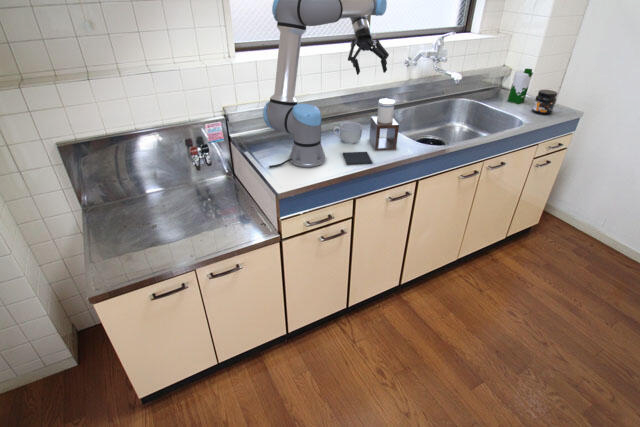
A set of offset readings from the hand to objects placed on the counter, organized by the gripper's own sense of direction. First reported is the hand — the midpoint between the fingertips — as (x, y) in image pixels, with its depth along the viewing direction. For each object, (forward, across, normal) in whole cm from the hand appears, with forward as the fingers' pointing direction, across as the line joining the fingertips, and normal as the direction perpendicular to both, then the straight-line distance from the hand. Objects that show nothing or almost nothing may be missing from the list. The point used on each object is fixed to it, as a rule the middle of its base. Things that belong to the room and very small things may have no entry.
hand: (372, 72), depth 180 cm
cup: (+24, -1, 0) cm, 25 cm away
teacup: (+27, +14, -15) cm, 34 cm away
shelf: (+33, -1, -9) cm, 34 cm away
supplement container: (+20, -110, -22) cm, 114 cm away
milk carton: (+5, -110, -37) cm, 116 cm away
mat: (+41, +17, -1) cm, 44 cm away
